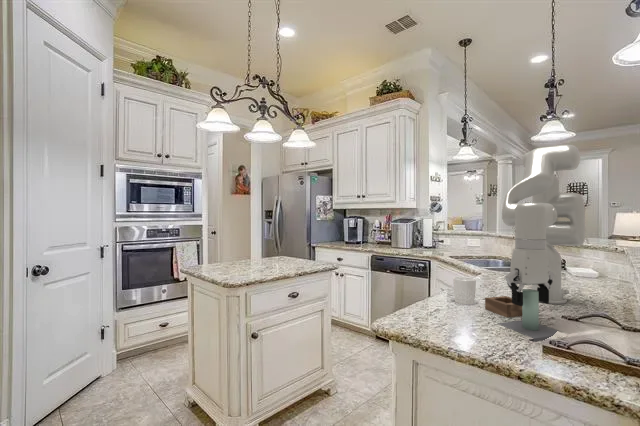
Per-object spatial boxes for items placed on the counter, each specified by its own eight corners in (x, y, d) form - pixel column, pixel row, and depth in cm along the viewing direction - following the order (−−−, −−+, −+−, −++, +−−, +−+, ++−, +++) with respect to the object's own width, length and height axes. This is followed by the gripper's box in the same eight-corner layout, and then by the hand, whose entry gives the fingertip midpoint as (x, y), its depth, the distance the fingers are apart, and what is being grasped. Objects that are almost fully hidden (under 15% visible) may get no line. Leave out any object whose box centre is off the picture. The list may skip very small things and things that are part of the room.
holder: (505, 309, 113) (505, 295, 113) (528, 317, 104) (528, 302, 104) (485, 312, 110) (485, 297, 110) (506, 320, 101) (506, 305, 101)
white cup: (471, 302, 123) (471, 276, 123) (479, 308, 115) (479, 280, 115) (450, 301, 123) (450, 276, 123) (457, 307, 115) (457, 280, 115)
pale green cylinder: (529, 325, 94) (529, 288, 94) (542, 329, 91) (541, 291, 91) (519, 326, 93) (518, 289, 93) (531, 331, 89) (531, 292, 89)
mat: (527, 322, 99) (527, 319, 99) (566, 337, 88) (566, 333, 88) (497, 326, 96) (497, 323, 96) (533, 342, 84) (533, 338, 84)
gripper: (540, 243, 98) (540, 297, 98) (496, 244, 93) (496, 302, 93) (565, 245, 91) (565, 304, 91) (518, 247, 86) (518, 309, 86)
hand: (530, 303), depth 92 cm, fingers open, 9 cm apart
